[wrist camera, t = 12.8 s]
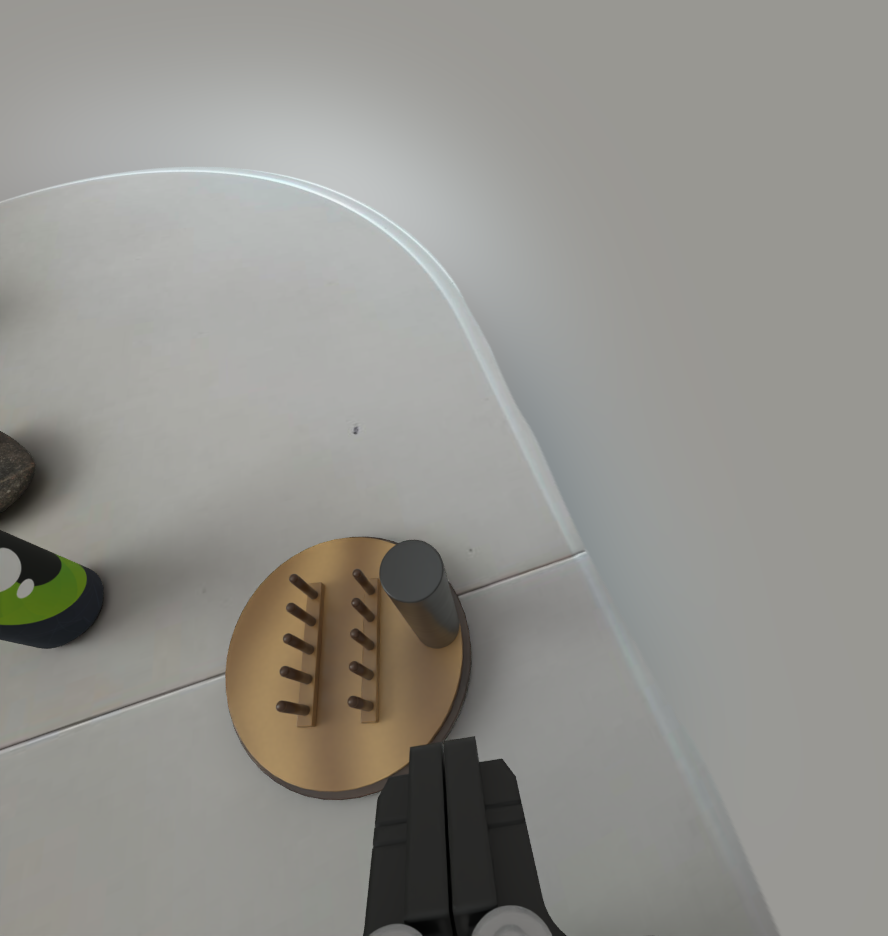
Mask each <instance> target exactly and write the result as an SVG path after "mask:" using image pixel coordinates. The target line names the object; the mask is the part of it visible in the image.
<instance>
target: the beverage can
mask: <svg viewBox="0 0 888 936" xmlns="http://www.w3.org/2000/svg"><path fill="white" fill-rule="evenodd" d="M102 604H103V585H102V582H101V579H100V578H99V576H98V575H97V574H96V573H95V572H94V571H92V570H91V569H89V568H86V567H84V566H82V565H80V564H77V563H75V562H73V561H70V560H68V559H66V558H63V557H61V556H59V555H56V554H54V553H52V552H50V551H47V550H45V549H43V548H40V547H38V546H36V545H33V544H31V543H29V542H27V541H24V540H22V539H20V538H17V537H15V536H13V535H10V534H8V533H6V532H4V531H1V530H0V640H5V641H9V642H14V643H19V644H23V645H28V646H33V647H38V648H45V649H48V648H55V647H59V646H62V645H65V644H67V643H69V642H71V641H72V640H74V639H75V638H77V637H78V636H80V635H81V634H82V633H84V632H85V631H86V630H87V629H88V628H89V627H90V626H91V625H92V624H93V622H94V621H95V620H96V618H97V616H98V614H99V612H100V610H101V607H102Z"/></svg>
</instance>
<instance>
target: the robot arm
mask: <svg viewBox="0 0 888 936" xmlns="http://www.w3.org/2000/svg"><path fill="white" fill-rule="evenodd" d="M363 936H566V935H565V934H564V933H563V932H562V931H561V930H560V929H559V928H558V927H557V926H556V924H555V923H554V922H553V920H552V919H551V917H550V916H549V914H548V912H547V910H546V907H545V905H544V901H543V898H542V893H541V889H540V884H539V880H538V875H537V871H536V866H535V862H534V857H533V853H532V848H531V844H530V839H529V835H528V830H527V826H526V822H525V817H524V812H523V808H522V804H521V799H520V794H519V789H518V785H517V780H516V776H515V775H514V774H513V772H512V771H511V770H510V768H509V767H508V766H507V765H506V763H505V762H504V761H503V759H497V760H491V761H484V762H479V758H478V752H477V745H476V739H475V736H474V737H468V738H462V739H455V740H449V741H444V749H443V745H442V742H438V743H432V744H426V745H419V746H413V747H410V752H409V774H405V775H399V776H393V777H389V778H388V780H387V782H386V784H385V786H384V788H383V790H382V792H381V793H380V795H379V797H378V800H377V810H376V820H375V829H374V839H373V849H372V859H371V869H370V878H369V888H368V898H367V908H366V918H365V927H364V933H363Z"/></svg>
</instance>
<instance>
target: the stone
mask: <svg viewBox="0 0 888 936" xmlns="http://www.w3.org/2000/svg"><path fill="white" fill-rule="evenodd" d="M34 471H35V462H34V460H33V458H32V456H31V455H30V454H29V453H28V452H27V450H26V449H25V448H24V447H23V446H21V445H20V444H19V443H18V442H17V441H15V440H14V439H12V438H11V437H9V436H8V435H6V434H4V433H3V432H1V431H0V513H1V512H2V511H4V510H5V509H7V508H8V507H9V506H10V505H12V504H13V503H14V502H15V501H17V500H18V499H19V497H20V496H21V495H22V494H23V493H24V491H25V490H26V488H27V487H28V485H29V484H30V482H31V480H32V477H33V475H34Z"/></svg>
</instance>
